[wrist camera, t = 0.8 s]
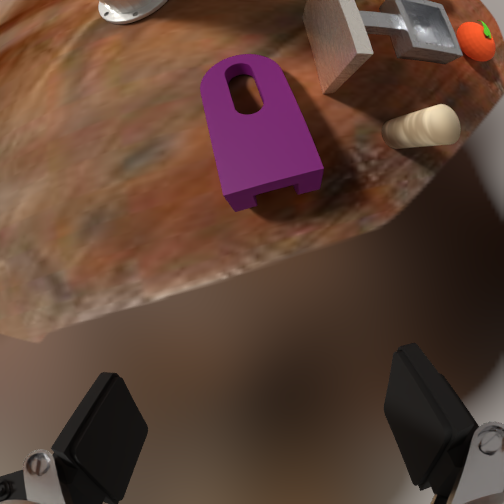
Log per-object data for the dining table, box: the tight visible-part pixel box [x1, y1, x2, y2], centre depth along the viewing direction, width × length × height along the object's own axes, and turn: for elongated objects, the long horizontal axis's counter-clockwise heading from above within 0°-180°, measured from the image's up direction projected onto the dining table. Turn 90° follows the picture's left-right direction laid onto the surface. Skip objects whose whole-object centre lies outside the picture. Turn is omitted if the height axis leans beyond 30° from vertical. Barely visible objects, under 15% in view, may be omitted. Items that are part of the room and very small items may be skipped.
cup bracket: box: [302, 0, 463, 94], centre depth 22 cm, size 12×15×14 cm
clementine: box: [457, 20, 495, 62], centre depth 23 cm, size 8×7×7 cm
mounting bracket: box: [200, 54, 324, 212], centre depth 31 cm, size 9×8×18 cm
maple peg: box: [382, 104, 461, 149], centre depth 26 cm, size 4×4×12 cm
